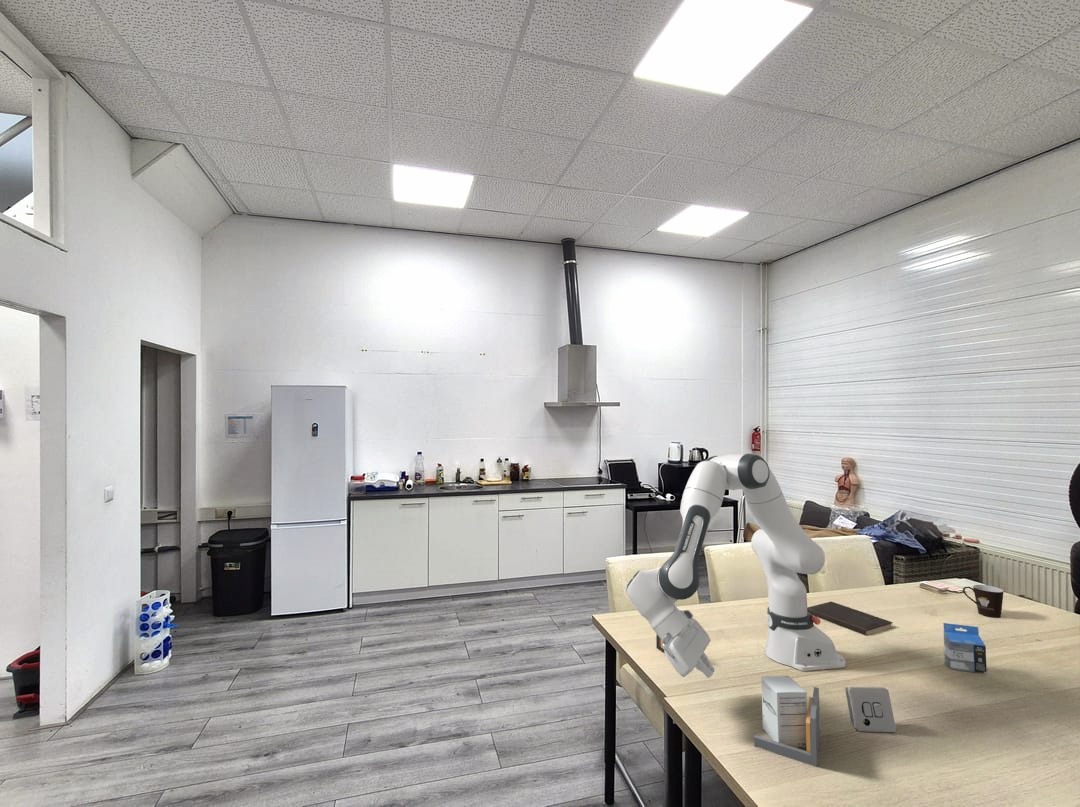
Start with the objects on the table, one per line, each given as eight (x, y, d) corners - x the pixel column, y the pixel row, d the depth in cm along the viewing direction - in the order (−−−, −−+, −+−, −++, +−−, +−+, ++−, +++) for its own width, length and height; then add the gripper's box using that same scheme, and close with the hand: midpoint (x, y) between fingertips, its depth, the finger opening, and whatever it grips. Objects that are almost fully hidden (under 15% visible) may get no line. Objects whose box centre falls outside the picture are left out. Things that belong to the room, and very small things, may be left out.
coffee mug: (1011, 619, 179) (1010, 592, 179) (988, 619, 179) (987, 592, 179) (983, 607, 190) (981, 582, 191) (961, 607, 191) (960, 582, 191)
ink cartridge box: (950, 669, 143) (948, 627, 143) (944, 663, 146) (942, 622, 147) (987, 674, 140) (985, 631, 140) (980, 668, 143) (978, 626, 144)
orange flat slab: (806, 755, 105) (805, 722, 105) (810, 726, 115) (809, 696, 115) (811, 756, 104) (809, 723, 105) (814, 727, 114) (813, 697, 115)
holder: (754, 746, 109) (753, 701, 110) (763, 713, 122) (762, 673, 122) (816, 766, 103) (815, 719, 103) (820, 730, 115) (818, 688, 115)
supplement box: (761, 728, 116) (760, 675, 116) (791, 727, 116) (789, 674, 117) (778, 749, 108) (776, 692, 109) (809, 747, 109) (807, 691, 109)
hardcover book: (831, 607, 194) (831, 601, 194) (893, 628, 173) (892, 622, 173) (804, 613, 187) (804, 608, 187) (865, 637, 166) (865, 630, 166)
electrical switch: (856, 732, 114) (853, 690, 115) (844, 721, 119) (841, 681, 121) (897, 733, 114) (893, 692, 115) (883, 722, 119) (879, 682, 120)
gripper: (668, 635, 118) (710, 687, 112) (691, 608, 135) (728, 651, 130) (651, 650, 120) (692, 700, 115) (676, 620, 138) (712, 663, 132)
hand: (711, 674), depth 122 cm, fingers closed
